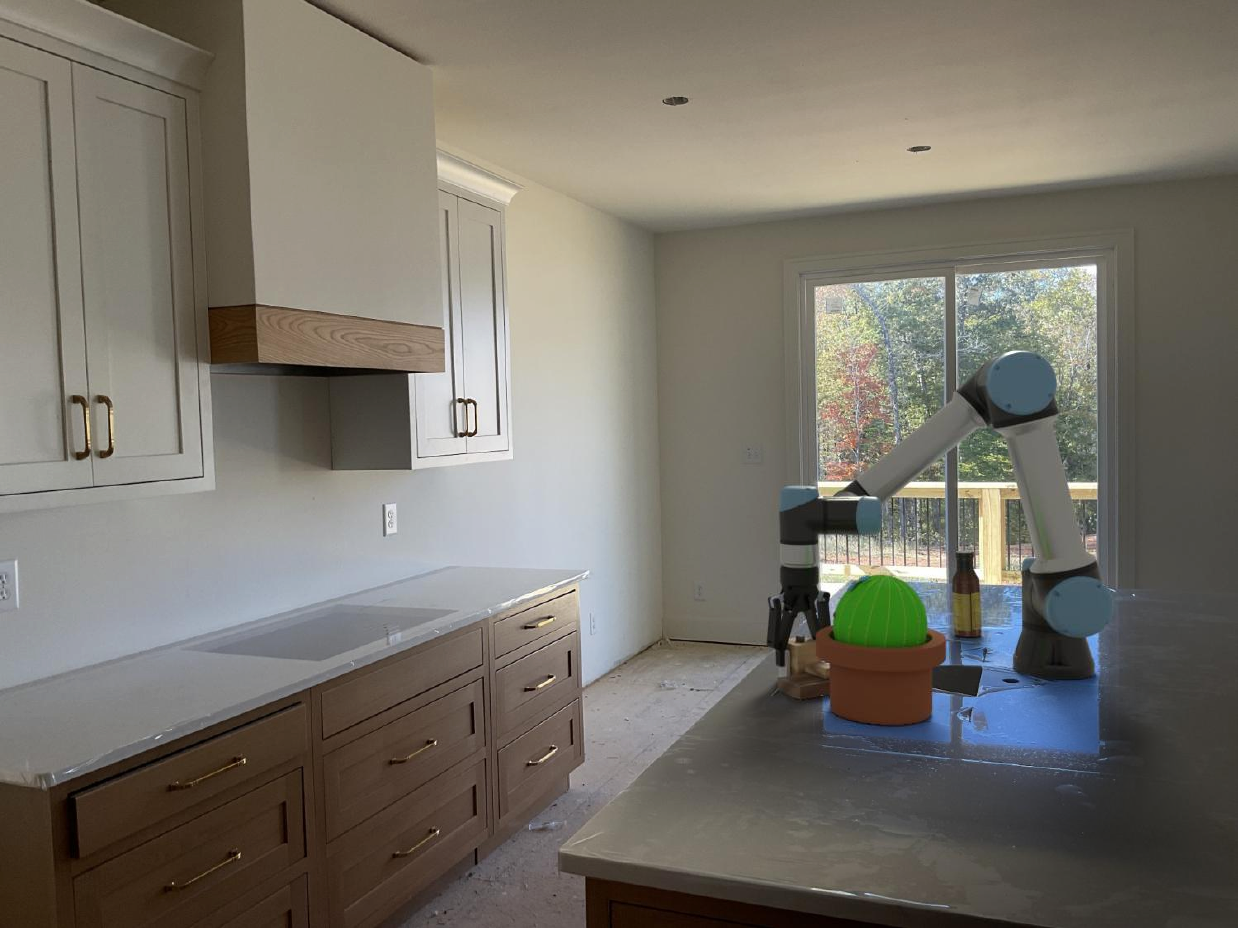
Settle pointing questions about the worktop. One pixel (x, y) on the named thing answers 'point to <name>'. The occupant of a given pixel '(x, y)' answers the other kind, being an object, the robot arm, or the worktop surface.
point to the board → (804, 686)
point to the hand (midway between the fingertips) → (800, 679)
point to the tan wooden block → (806, 658)
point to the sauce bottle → (966, 597)
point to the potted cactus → (881, 653)
